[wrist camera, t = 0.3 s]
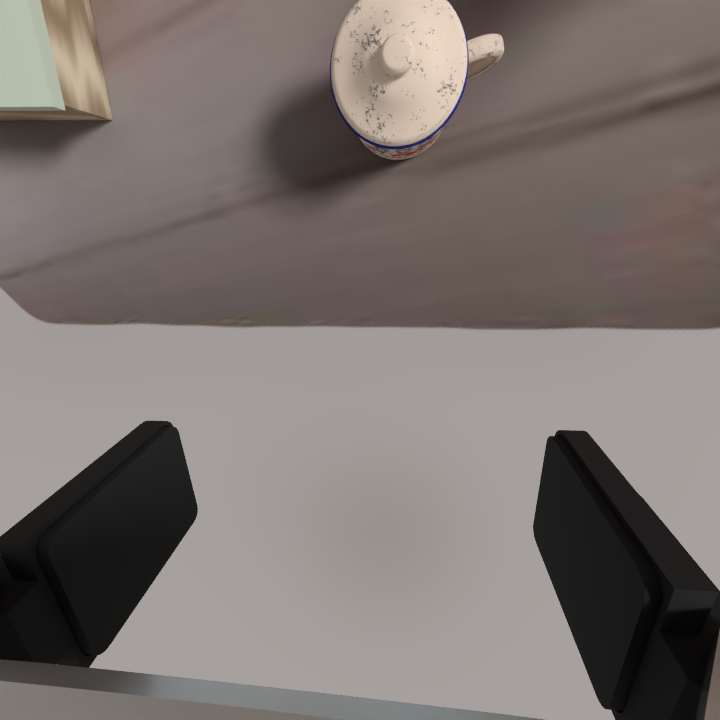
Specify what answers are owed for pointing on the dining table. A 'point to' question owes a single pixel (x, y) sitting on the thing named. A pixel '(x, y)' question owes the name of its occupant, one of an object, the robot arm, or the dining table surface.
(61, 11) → the box
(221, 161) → the dining table surface
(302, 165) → the dining table surface
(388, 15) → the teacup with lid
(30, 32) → the lid
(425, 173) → the dining table surface
